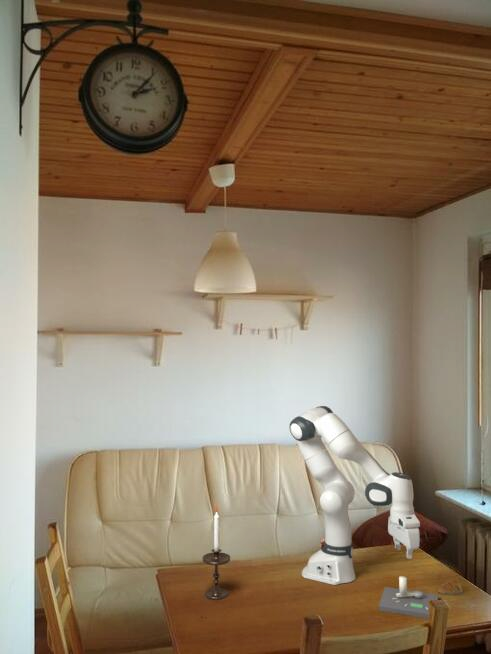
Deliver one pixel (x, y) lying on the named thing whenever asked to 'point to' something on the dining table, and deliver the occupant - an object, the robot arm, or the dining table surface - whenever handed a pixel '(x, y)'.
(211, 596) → the candlestick
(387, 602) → the dial plate
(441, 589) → the pastry
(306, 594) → the dining table surface
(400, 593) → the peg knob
